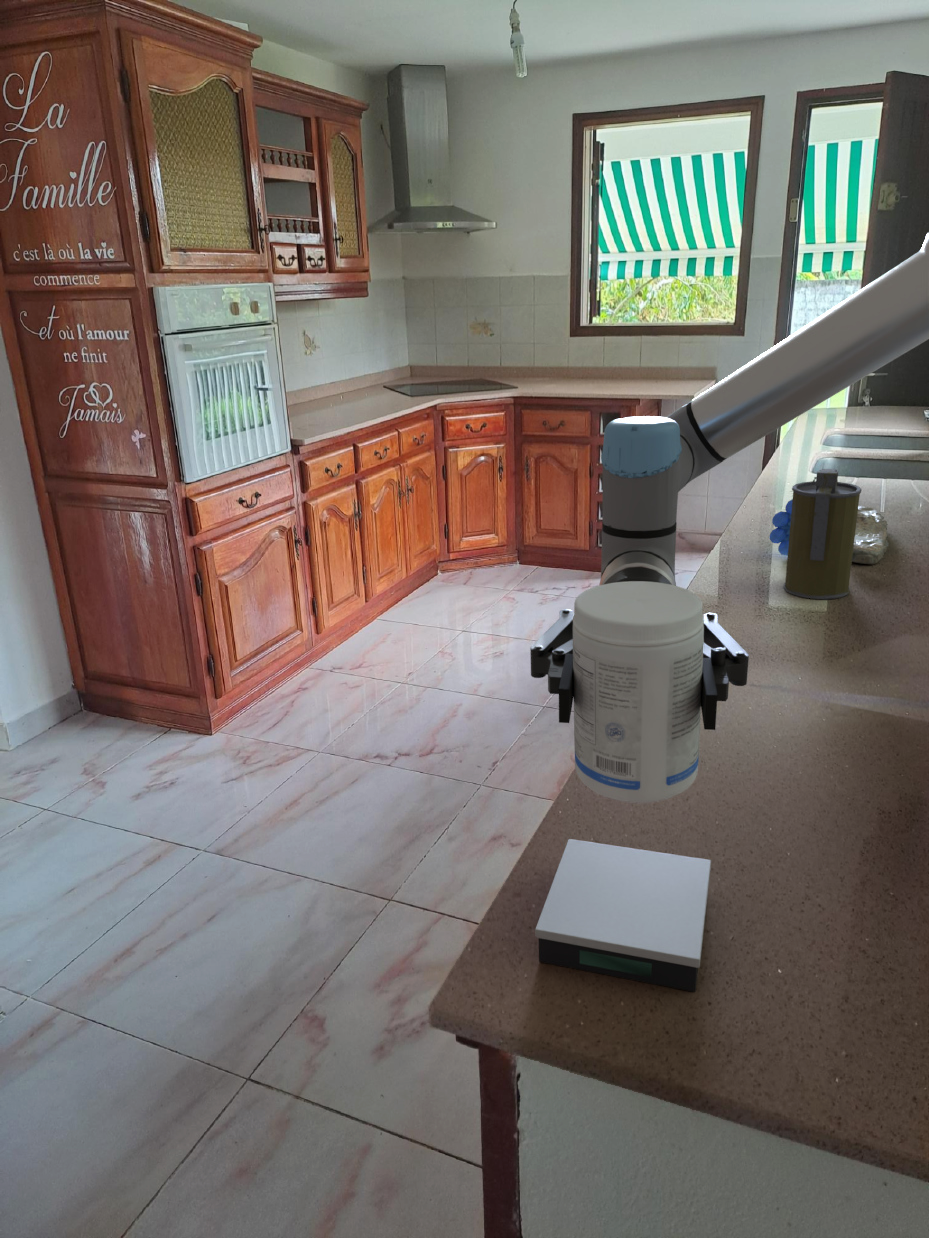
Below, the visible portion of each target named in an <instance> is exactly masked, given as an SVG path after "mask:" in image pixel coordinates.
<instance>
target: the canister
mask: <svg viewBox="0 0 929 1238" xmlns="http://www.w3.org/2000/svg"><path fill="white" fill-rule="evenodd" d="M813 478H814V479H812V481H804V482H798V483H795V484H793V485H792V487H791V490H792V499H793V501H792V512H791V524H790V535H789V547H788V555H787V559H786V573H785V581H784V583H783V589H784V591H785V592H787V593H789V594H790V595H793V596H795V597H800V598H804V599H809V598H810V600H826V601H827V600H837V599H842V598H844V597H846V596H848V595H849V594H850V593H851V588H850V579H851V571H852V564H853V562H852V555H853V547H854V538H855V530H856V522H857V513H858V506H860V495H861V493H862V488H861V487H860V486H859V485H856V484H854V483H848V482H842V481H838V480H839V479H838V478H839V470H837V469H836V468H822V469H820V470H818V471H817V472H816V476H814V477H813Z"/></svg>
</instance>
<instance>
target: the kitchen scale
mask: <svg viewBox="0 0 929 1238" xmlns="http://www.w3.org/2000/svg"><path fill="white" fill-rule="evenodd" d="M711 868H712V860H711V859H705V858H699V857H691V856H686V855H679V854H672V853H665V852H660V851H653V850H644V849H640V848H639V849H638V848H632V847H625V846H617V845H612V844H607V843H606V844H605V843H598V842H592V841H585V840H578V839H571V838H568V839H567V842H566V844H565V848H564V850H563V853H562V856H561V859H560V861H559V864H558V867H557V870H556V872H555V875H554V877H553V880H552V883H551V885H550V888H549V891H548V894H547V896H546V898H545V902H544V904H543V907H542V909H541V912H540V915H539V918H538V920H537V924H536V927H535V929H534V933H535V935H534V937H535V938H536V939H538V961H539V963H543V964H548V965H554V966H560V967H565V968H568V969H573V970H574V969H575V970H580V971H584V972H590V973H595V974H600V975H606V976H610V977H615V978H621V979H626V980H631V981H635V982H640V983H646V984H650V985H656V986H661V987H666V988H671V989H677V990H681V991H687V992H692V993H695V992H696V989H697V982H698V981H697V980H698V971H699V968H700V967H701V959H702V950H703V949H702V948H703V941H704V940H703V939H704V932H705V922H706V914H707V913H706V912H707V904H708V895H709V886H710V879H711V878H710V877H711Z"/></svg>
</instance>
